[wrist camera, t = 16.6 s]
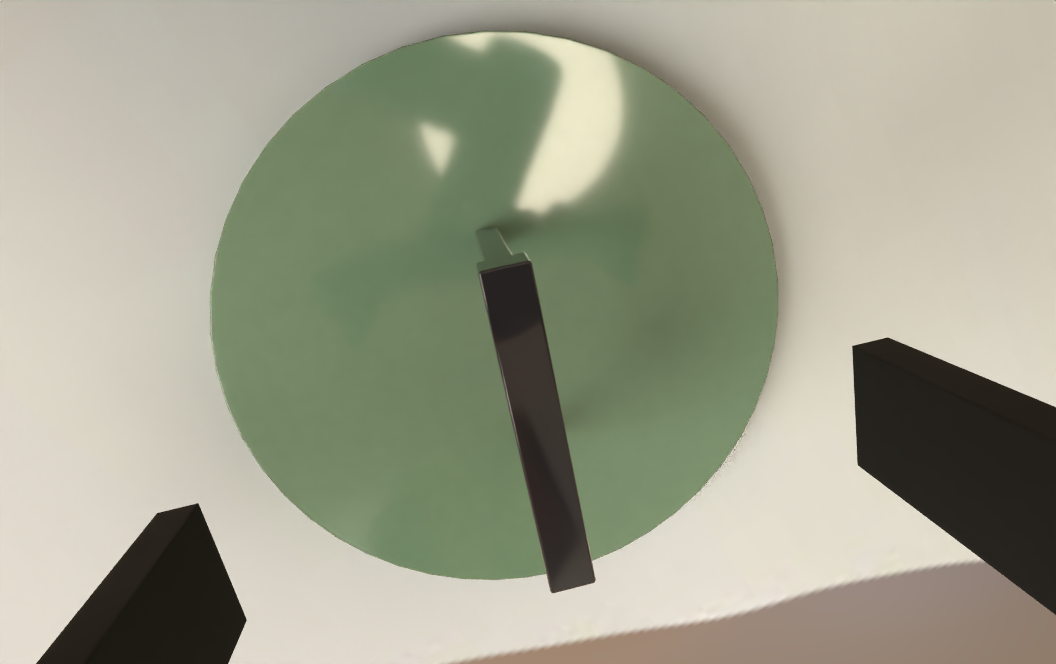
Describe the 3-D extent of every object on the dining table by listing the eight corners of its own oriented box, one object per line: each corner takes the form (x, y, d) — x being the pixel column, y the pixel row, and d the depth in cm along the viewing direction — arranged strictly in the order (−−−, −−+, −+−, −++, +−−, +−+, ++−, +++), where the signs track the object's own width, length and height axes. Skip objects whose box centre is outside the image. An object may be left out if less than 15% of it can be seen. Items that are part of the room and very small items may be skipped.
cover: (736, -17, 20) (950, -139, 11) (780, 495, 25) (943, 665, 17) (131, 104, 18) (-131, 67, 10) (319, 611, 24) (252, 854, 16)
